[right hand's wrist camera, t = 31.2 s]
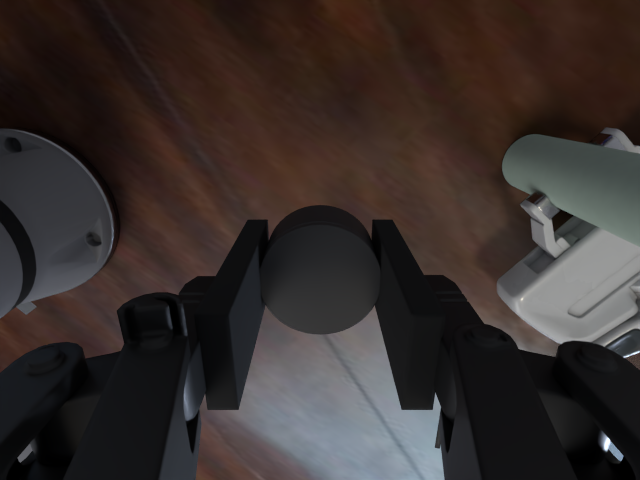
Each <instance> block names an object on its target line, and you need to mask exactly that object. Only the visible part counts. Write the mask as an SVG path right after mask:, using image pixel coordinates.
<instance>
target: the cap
mask: <svg viewBox="0 0 640 480" xmlns="http://www.w3.org/2000/svg"><path fill="white" fill-rule="evenodd" d="M380 275H381V268H380V264H379V261H378V258H377V256H376V253H375V250H374V247H373V244H372V241H371V238H370V236H369V234H368V232H367V230H366V229H365V227H364V226H363V225H362V223H361V222H360V221H359V220H358V219H357V218H355V217H354V216H353V215H351V214H350V213H348V212H346V211H344V210H342V209H339V208H336V207H332V206H325V205H315V206H309V207H304V208H301V209H298V210H296V211H294V212H292V213H291V214H289V215H288V216H286V217H285V218H284V219H283V220H282V221H281V222H280V223H279V224H278V225H277V226H276V228H275V229H274V231H273V233H272V235H271V237H270V239H269V242H268V245H267V248H266V251H265V254H264V257H263V260H262V263H261V266H260V287H261V296H262V298H263V301H264V303H265V305H266V306H267V308H268V309H269V311H270V312H271V313H272V314H273V315H274V316H275V317H276V318H277V319H278V320H279V321H281V322H282V323H284V324H285V325H287V326H289V327H290V328H293V329H295V330H298V331H301V332H304V333H310V334H331V333H336V332H340V331H343V330H345V329H348V328H350V327H352V326H354V325H355V324H357V323H358V322H360V321H361V320H362V319H363V318H364V317H366V316H367V315H368V313H369V312H370V311H371V310H372V308H373V307H374V305H375V304H376V302H377V299H378V297H379V290H380Z"/></svg>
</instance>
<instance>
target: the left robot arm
mask: <svg viewBox="0 0 640 480" xmlns="http://www.w3.org/2000/svg"><path fill="white" fill-rule="evenodd" d="M589 144H592V145H598V146H603V147H608V148H613V149H619V150H624V151H629V152H634V153H640V146H636V145H633V144H632V143H631V141H630V140H629V139H628V138H627V136H626V135H625V134H624V133H623V132H622V131H620V130H618V129H613V128H605V129H604V130H603V131H602V132H601V133H599V134H598V135H597V136H596V137H595V138H594V139H593V140H592V141H591V142H589ZM520 205H521V207H522V208H523V209H524V210H525V211H526V212H527V213H528V214H529V215H530V216H531V217H532V218H531V229H532V239H533V240H534V241H535V242H536V243H537V244H538V246H537V247H536V248H535V249H533V250H532V251H531V252H530V253H529V254H528V255H526V256H525V257H524V258H523V259H522V260H520V261H519V262H518V263H517V264H516V265H514V266H513V267H512V268H511V269H510V270H508V271H507V272H506V273H505V274H504V275H502V276H501V277H500V278H499V279H498V281H497V293H498V295H499V296H500V297H501V299H502V300H503V301H504V302H505V303H506V304H507V305H508V306H509V307H510V308H511V309H512V310H513V311H514V312H515V313H516V314H517V315H518V316H519V317H520V318H522V319H523V320H524V321H525V322H527V323H528V324H529V325H531V326H532V327H533V328H535V329H536V330H538V331H539V332H541V333H542V334H544V335H545V336H547V337H548V338H550V339H552V340H554V341H555V342H557V343H560V344H562V343H563V342H567V341H573V340H575V341H587V342H592V343H593V344H595V343H596V344H599V345H602V346H604V347H605V348H608V349H610V350H612V351H614V352H616V353H618V354H619V355H621V356H622V357H624V358H625V357H628V356H631V355H633V354H636V353H639V352H640V247H639V246H637V245H635V244H632V243H630V242H628V241H626V240H624V239H622V238H620V237H618V236H616V235H614V234H612V233H610V232H607V231H605V230H603V229H601V228H599V227H597V226H595V225H593V224H591V223H589V222H587V221H585V220H582V219H580V218H578V217H576V216H573V217H571V218H570V219H569V220H568V221H567V222H566V223H564V224H563V225H562V226H561V227H560V228H558V229H557V230H556V231H555V232H554V231H553V225H552V219H551V218H552V217H554V216H555V215H556V214H557V213H558V212H559V211H560V210H559V209H558V208H557V207H556V206H555V205H553V204H551V201H550V199H549V198H548V197H546V196H545V195H544V194H542V193H540V194H539V193H538V192H537V191H535V192H533V193H532V194H531V195H530V196H529V197H528V198H526V199H525V200H524V201H523V202H522V203H521V204H520Z"/></svg>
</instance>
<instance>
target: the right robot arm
mask: <svg viewBox="0 0 640 480" xmlns="http://www.w3.org/2000/svg"><path fill="white" fill-rule="evenodd" d="M118 237H119V217H118V212H117V208H116V205H115V201H114V199H113V196H112V194H111V192H110V190H109V188H108V186H107V185H106V183H105V181H104V180H103V178H102V177H101V176H100V174H99V173H98V172H97V170H96V169H95V168H94V167H93V166H92V165H91V164H90V163H89V162H88V161H87V160H86V159H85V158H84V157H83V156H82V155H81V154H79V153H78V152H77V151H76V150H74V149H73V148H71V147H70V146H69V145H67V144H65V143H64V142H62V141H60V140H58V139H56V138H54V137H52V136H49V135H47V134H45V133H42V132H38V131H35V130H31V129H26V128H18V127H3V128H0V318H1V317H3V316H4V315H5V314H6V313H8V312H9V311H11V310H12V309H14V308H15V307H17V308H18V309H19V310H21V311H22V312H23V313H25V314H26V315H27V314H28V313H29V312H31V311H32V310H33V309H34V308H36V307H37V306H35V305H34V304H33V303H31V302H30V301H34V300H37V299H41V298H44V297H47V296H51V295H54V294H58V293H61V292H65V291H68V290H70V289H73V288H75V287H77V286H79V285H80V284H82V283H84V282H86V281H87V280H89V279H90V278H92V277H93V276H94V275H95V274H97V273H98V272H99V271H100V270H101V269H102V268H103V267H104V266H105V265H106V264H107V263H108V262H109V260H110V259H111V257H112V255H113V253H114V251H115V249H116V246H117V242H118ZM371 241H372V244H373V247H374V250H375V253H376V256H377V258H378V261H379V264H380V268H381V275H380V290H379V297H378V299H377V302H376V304H375V308H376V312H377V315H378V319H379V323H380V327H381V331H382V335H383V339H384V343H385V347H386V350H387V354H388V358H389V362H390V366H391V370H392V374H393V378H394V382H395V385H396V389H397V393H398V397H399V401H400V405H401V409H402V410H433V404H434V397H435V392H436V395H437V397H438V400H439V403H440V405H441V411H440V418H439V424H438V431H437V437H436V443H435V448H440V444H441V450H442V460H443V469H444V478H445V480H640V370H639V369H638V368H636V367H635V366H634V365H633V364H632V363H630V362H629V361H628V360H627V359H625V358H624V357H622V356H621V355H619V354H618V353H616V352H614V351H612V350H610V349H608V348H605V347H604V346H602V345H599V344H596V343H595V344H593V343H592V342H587V341H575V340H573V341H567V342H563V343H562V344H561V345H560V346H558V350H557V353H556V357H552V356H547V355H542V354H537V353H532V352H528V351H524V350H520V349H518V347H517V345H516V343H515V342H514V340H513V339H512V338H511V336H509V335H508V334H507V333H505V332H504V331H502V330H501V329H498V328H496V327H493V326H491V325H487V324H484V323H483V321H482V320H481V319H480V317H479V316H478V314H477V313H476V312H475V310H474V309H473V307H472V306H471V305H470V303H469V302H467V299H466V298H465V296H464V295H463V294H462V292H461V291H460V289H459V288H458V286H457V285H456V284H455V283H454V282H453V281H451V280H450V279H448V278H447V277H445V276H444V275H424V274H423V273H422V271H421V269H420V267H419V266H418V264H417V262H416V260H415V259H414V257H413V255H412V253H411V252H410V250H409V248H408V246H407V245H406V243H405V241H404V239H403V238H402V236H401V234H400V232H399V230H398V229H397V227H396V225H395V223H394V222H393V220H373V221H372V240H371ZM268 242H269V235H268V220H247V222H246V224H245V226H244V227H243V229H242V231H241V233H240V234H239V236H238V238H237V240H236V241H235V243H234V245H233V247H232V248H231V250H230V252H229V254H228V256H227V257H226V259H225V261H224V263H223V264H222V266H221V268H220V270H219V271H218V273H217V275H216V276H197V277H196V278H194V279H193V280H191V281H189V282H188V283H186V284H185V285H184V287H183V288H182V290H181V291H180V292H179V295H176V294H172V293H168V292H165V293H151V294H145V295H142V296H139V297H136V298H134V299H131V300H130V301H128V302H126V303H125V304H123V305H122V306H121V307H120V308H119V309H118V310H117V314H118V318H119V323H120V327H121V331H122V336H123V340H124V346H123V348H122V350H121V351H119V352H115V353H111V354H106V355H101V356H96V357H91V358H86V359H85V355H84V352H83V348H82V347H80V346H79V345H78V344H76V343H70V342H62V343H52V344H48V345H44V346H41V347H38V348H37V349H35V350H33V351H30V352H28V353H26V354H24V355H23V356H21V357H20V358H18V359H17V360H15V361H14V362H13V363H12V364H10V365H9V366H8V367H7V368H6V369H4V370H3V371H2V372H1V373H0V480H195V479H196V470H197V460H198V451H199V442H200V433H201V418H200V411H199V408H200V405H201V403H202V400H203V397H204V395H206V402H207V409H208V410H239V406H240V402H241V398H242V394H243V390H244V386H245V382H246V379H247V375H248V371H249V367H250V363H251V359H252V355H253V351H254V347H255V344H256V340H257V336H258V332H259V328H260V324H261V320H262V316H263V312H264V309H265V303H264V301H263V298H262V296H261V287H260V266H261V263H262V260H263V257H264V254H265V251H266V248H267V245H268ZM611 442H612V443H613V444H614V445H615V446H616V447H617V449H618V450H619V451H620V452H621V453H622V454H623V455H624V457H623V459H622V461H621V462H620V461H619V460H618V459H617V458H616V457H615V456H614V455H613V454H612V453H611V452H610V451H609V449H608V448H609V446H610V443H611ZM29 444H30V445H31V447H32V450H33V451H32V452H31V453H30V454H29V456H28V457H27V458H26V459H24V460H23V461H22V462H21V463H20V462H19V461H18V459H17V457H18V456H19V455H20V454H21V453H22V452H23V450H24V449H25V448H26V447H27V446H28V445H29Z"/></svg>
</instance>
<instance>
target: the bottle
mask: <svg viewBox="0 0 640 480" xmlns="http://www.w3.org/2000/svg"><path fill="white" fill-rule="evenodd" d="M502 171H503V175H504V177H505V179H506V181H507V182H508V183H509V184H510V185H512V186H514V187H516V188H518V189H520V190H522V191H524V192H526V193H528V194H530V195H531V194H532V193H533V192H535V191H537V192H538V193H539V194H540V193H542V194H544V195H545V196H546V197H548V198H549V199H550V201H551V204H553V205H555V206H556V207H558V208H560V209H562V210H564V211H566V212H568V213H570V214H572V215H574V216H576V217H578V218H580V219H582V220H585V221H587V222H589V223H591V224H593V225H595V226H597V227H599V228H601V229H603V230H605V231H607V232H610V233H612V234H614V235H616V236H618V237H620V238H622V239H624V240H626V241H628V242H630V243H632V244H635V245H637V246H639V247H640V153H634V152H629V151H624V150H619V149H613V148H608V147H603V146H598V145H592V144H587V143H582V142H577V141H571V140H566V139H561V138H556V137H550V136H545V135H540V134H531V135H527V136H524V137H522V138H520V139H518V140H517V141H516V142H514V143H513V144H512V145H511V146H510V147H509V149H508V150H507V152H506V154H505V156H504V159H503V163H502Z"/></svg>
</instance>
